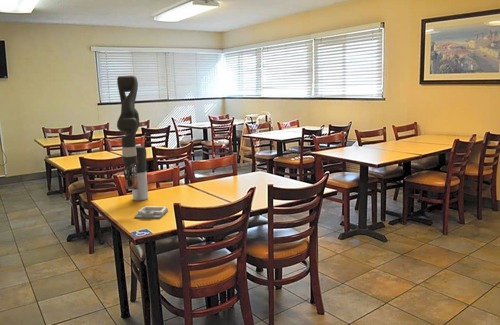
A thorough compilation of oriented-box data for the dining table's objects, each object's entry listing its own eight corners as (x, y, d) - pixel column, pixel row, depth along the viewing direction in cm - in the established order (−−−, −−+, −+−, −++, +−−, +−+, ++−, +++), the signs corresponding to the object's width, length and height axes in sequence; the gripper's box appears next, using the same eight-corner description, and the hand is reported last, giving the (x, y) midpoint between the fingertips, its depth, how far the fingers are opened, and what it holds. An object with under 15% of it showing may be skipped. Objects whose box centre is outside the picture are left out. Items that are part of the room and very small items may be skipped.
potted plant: (123, 188, 234) (122, 171, 232) (127, 187, 237) (126, 169, 235) (136, 189, 231) (134, 171, 229) (139, 188, 234) (138, 170, 232)
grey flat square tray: (143, 210, 239) (143, 205, 239) (168, 211, 238) (167, 205, 237) (134, 218, 226) (134, 212, 225) (160, 218, 224) (159, 213, 223)
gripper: (128, 152, 238) (130, 182, 241) (117, 157, 224) (119, 188, 227) (141, 152, 237) (143, 182, 240) (130, 157, 223) (133, 189, 226)
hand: (131, 185), depth 234 cm, fingers closed on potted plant, 3 cm apart
